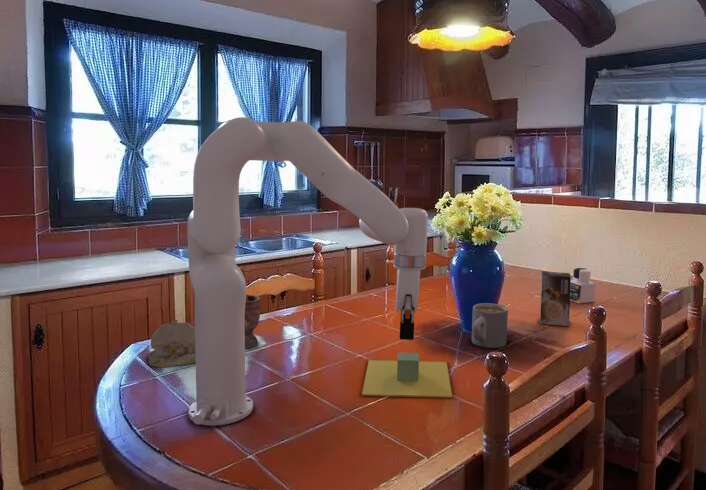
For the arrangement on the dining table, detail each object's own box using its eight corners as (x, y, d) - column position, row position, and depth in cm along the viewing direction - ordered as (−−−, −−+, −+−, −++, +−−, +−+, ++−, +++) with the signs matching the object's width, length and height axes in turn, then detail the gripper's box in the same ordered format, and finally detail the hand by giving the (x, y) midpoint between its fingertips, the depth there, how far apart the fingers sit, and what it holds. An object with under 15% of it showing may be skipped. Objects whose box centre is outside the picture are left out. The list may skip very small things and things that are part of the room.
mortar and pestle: (216, 341, 155) (215, 271, 152) (244, 334, 161) (244, 266, 159) (238, 352, 147) (237, 278, 144) (266, 345, 153) (266, 273, 151)
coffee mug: (486, 333, 167) (487, 301, 166) (513, 342, 160) (515, 308, 159) (456, 343, 158) (457, 309, 157) (483, 353, 151) (484, 317, 150)
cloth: (452, 397, 123) (452, 396, 123) (361, 395, 123) (361, 393, 123) (446, 363, 143) (446, 361, 143) (368, 361, 143) (368, 360, 143)
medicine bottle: (566, 298, 209) (568, 267, 208) (581, 297, 212) (583, 266, 211) (579, 303, 203) (581, 271, 201) (594, 302, 206) (596, 270, 204)
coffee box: (568, 320, 182) (571, 272, 180) (569, 326, 176) (571, 276, 174) (539, 318, 184) (541, 270, 182) (539, 324, 178) (541, 274, 176)
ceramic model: (141, 369, 135) (140, 328, 134) (150, 352, 145) (149, 315, 144) (203, 364, 138) (202, 325, 137) (207, 348, 149) (206, 312, 148)
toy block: (418, 381, 131) (418, 360, 130) (397, 380, 131) (397, 360, 130) (418, 372, 135) (418, 352, 135) (397, 372, 135) (398, 352, 135)
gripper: (394, 253, 138) (392, 321, 140) (392, 268, 121) (389, 344, 123) (425, 255, 138) (421, 322, 140) (426, 269, 121) (423, 345, 123)
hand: (406, 332), depth 131 cm, fingers open, 9 cm apart
